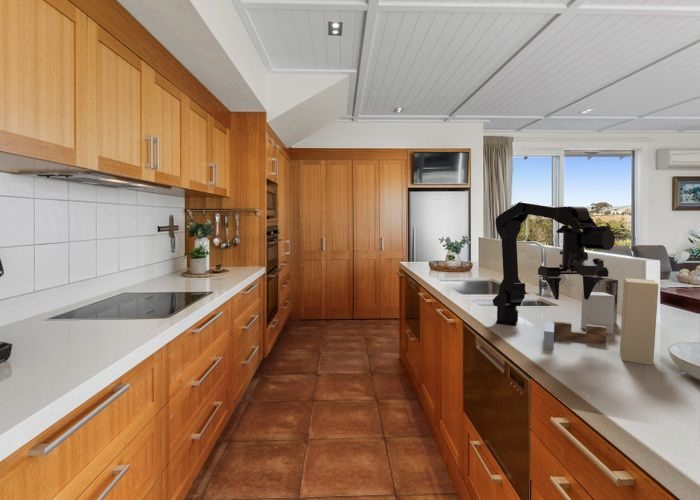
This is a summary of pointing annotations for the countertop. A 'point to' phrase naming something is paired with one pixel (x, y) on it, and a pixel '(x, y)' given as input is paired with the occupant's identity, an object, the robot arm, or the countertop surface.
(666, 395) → the countertop surface
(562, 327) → the walnut block
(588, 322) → the supplement box
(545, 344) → the pale blue pillar
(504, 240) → the robot arm
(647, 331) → the beige tall block
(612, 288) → the coffee box
